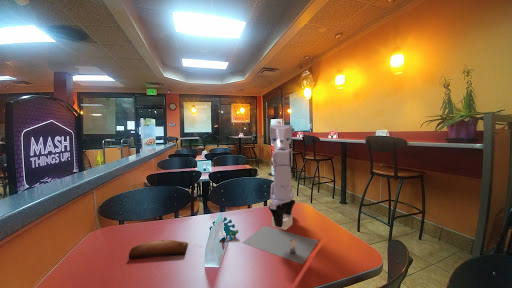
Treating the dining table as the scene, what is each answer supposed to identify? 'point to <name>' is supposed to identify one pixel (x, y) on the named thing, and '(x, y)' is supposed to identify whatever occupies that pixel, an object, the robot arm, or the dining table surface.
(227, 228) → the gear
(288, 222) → the ring
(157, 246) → the sunglasses case
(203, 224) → the dining table surface
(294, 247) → the piston
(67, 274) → the dining table surface
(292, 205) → the robot arm
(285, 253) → the board
